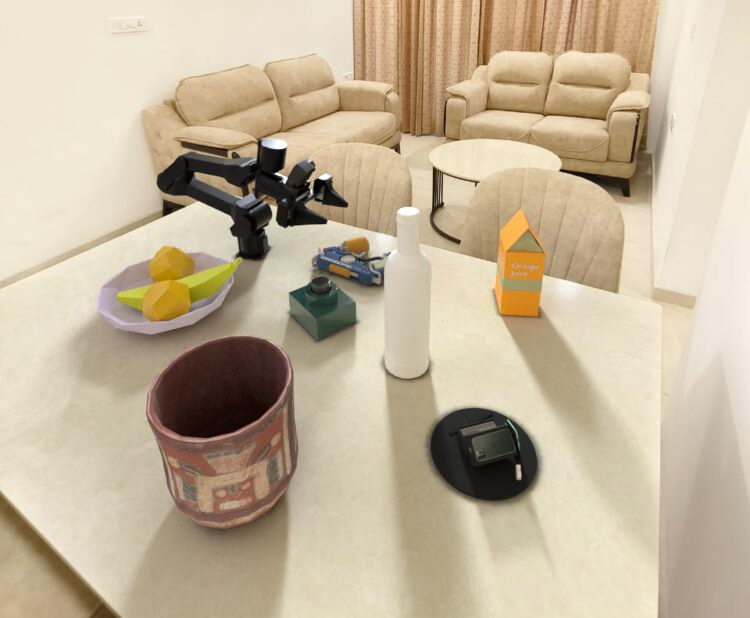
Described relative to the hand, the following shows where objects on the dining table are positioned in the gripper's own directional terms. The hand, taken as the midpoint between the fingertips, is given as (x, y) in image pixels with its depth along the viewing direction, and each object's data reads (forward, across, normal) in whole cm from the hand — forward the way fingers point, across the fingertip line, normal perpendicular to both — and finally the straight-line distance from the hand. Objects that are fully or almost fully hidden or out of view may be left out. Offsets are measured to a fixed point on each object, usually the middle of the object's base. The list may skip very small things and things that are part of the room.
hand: (337, 213), depth 110 cm
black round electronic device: (+44, -32, +6) cm, 55 cm away
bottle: (+28, -20, +10) cm, 36 cm away
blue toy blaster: (+6, +6, +15) cm, 17 cm away
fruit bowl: (-21, -26, +22) cm, 39 cm away
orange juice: (+42, +6, +7) cm, 42 cm away
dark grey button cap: (+7, -15, +8) cm, 18 cm away
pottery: (+16, -51, +13) cm, 55 cm away
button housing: (+8, -15, +14) cm, 22 cm away
